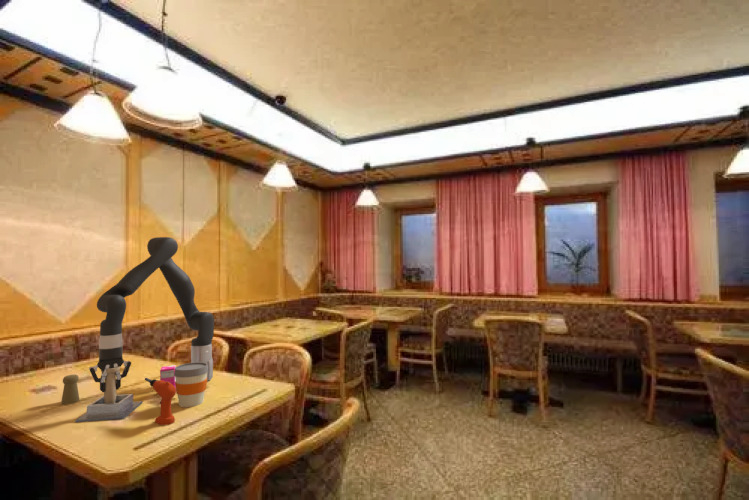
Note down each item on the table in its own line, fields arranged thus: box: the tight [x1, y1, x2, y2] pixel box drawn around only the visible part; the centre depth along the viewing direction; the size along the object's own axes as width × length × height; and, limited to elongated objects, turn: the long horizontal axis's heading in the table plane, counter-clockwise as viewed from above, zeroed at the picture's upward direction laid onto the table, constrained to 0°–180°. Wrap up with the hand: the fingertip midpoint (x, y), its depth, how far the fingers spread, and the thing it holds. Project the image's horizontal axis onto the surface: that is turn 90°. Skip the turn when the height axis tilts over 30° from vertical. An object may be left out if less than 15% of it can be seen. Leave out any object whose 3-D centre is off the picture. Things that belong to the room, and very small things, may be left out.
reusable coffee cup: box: [174, 362, 208, 408], centre depth 154 cm, size 13×13×15 cm
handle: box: [100, 367, 121, 404], centre depth 146 cm, size 5×6×15 cm
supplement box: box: [159, 364, 177, 388], centre depth 167 cm, size 6×6×12 cm
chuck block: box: [74, 393, 144, 423], centre depth 145 cm, size 16×16×5 cm
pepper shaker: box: [60, 374, 80, 406], centre depth 157 cm, size 6×6×11 cm
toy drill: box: [144, 377, 177, 426], centre depth 138 cm, size 5×19×15 cm, turn 59°
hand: (110, 390), depth 146 cm, fingers closed on handle, 4 cm apart
